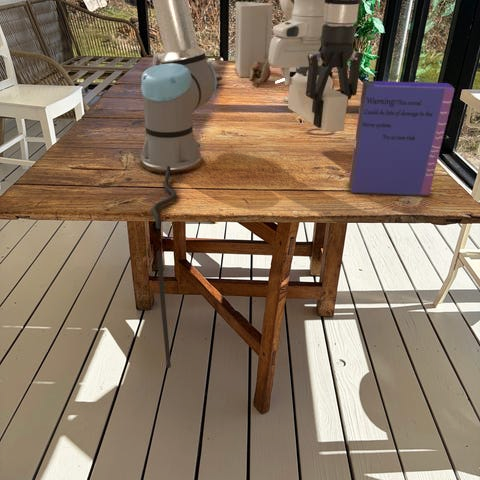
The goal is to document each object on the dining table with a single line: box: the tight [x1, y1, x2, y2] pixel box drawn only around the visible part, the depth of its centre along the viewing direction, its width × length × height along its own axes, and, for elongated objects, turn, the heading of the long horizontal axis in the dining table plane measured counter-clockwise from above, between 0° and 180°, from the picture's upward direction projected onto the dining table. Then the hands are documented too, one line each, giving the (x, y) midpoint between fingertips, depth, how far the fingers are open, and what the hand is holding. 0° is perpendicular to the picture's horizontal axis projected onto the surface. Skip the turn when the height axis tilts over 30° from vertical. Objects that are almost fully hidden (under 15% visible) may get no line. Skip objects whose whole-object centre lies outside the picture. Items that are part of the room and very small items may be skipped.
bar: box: [287, 76, 349, 133], centre depth 124 cm, size 22×5×8 cm, turn 19°
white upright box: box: [234, 1, 274, 78], centre depth 210 cm, size 19×15×28 cm
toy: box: [152, 51, 219, 68], centre depth 222 cm, size 24×25×7 cm
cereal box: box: [348, 80, 455, 197], centre depth 104 cm, size 17×5×24 cm, turn 86°
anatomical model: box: [249, 55, 271, 87], centre depth 197 cm, size 13×9×15 cm
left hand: (327, 124), depth 120 cm, fingers closed on bar, 5 cm apart
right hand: (304, 83), depth 128 cm, fingers open, 8 cm apart
